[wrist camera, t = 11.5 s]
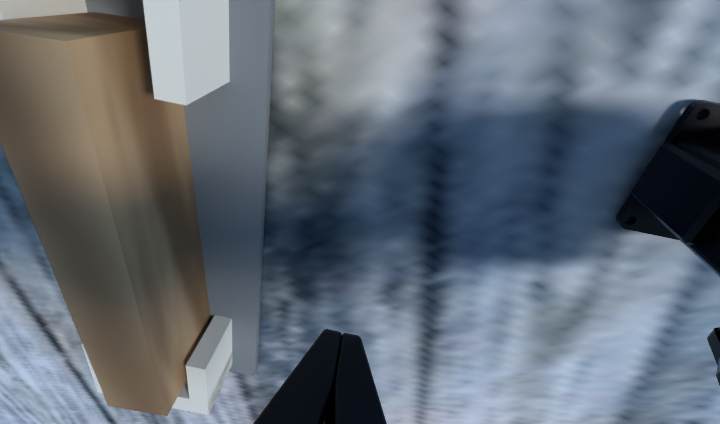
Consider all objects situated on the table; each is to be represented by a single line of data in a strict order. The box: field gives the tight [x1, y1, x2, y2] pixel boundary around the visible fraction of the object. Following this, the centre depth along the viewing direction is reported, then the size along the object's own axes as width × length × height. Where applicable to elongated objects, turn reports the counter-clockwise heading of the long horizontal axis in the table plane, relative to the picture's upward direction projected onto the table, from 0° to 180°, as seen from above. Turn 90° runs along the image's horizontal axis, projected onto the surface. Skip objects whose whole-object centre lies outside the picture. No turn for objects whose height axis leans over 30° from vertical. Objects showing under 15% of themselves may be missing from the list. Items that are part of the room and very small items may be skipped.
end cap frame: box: [0, 0, 275, 415], centre depth 20 cm, size 11×28×5 cm, turn 170°
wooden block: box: [0, 12, 211, 416], centre depth 19 cm, size 4×20×6 cm, turn 173°
